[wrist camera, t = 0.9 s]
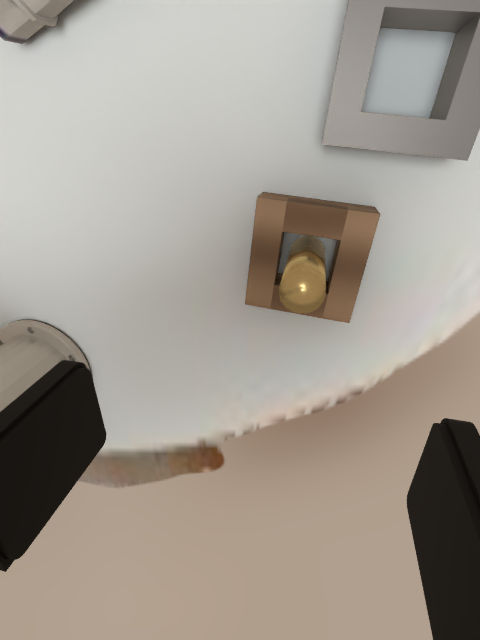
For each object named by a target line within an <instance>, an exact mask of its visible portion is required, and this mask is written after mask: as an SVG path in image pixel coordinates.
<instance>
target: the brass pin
mask: <svg viewBox="0 0 480 640" xmlns="http://www.w3.org/2000/svg"><path fill="white" fill-rule="evenodd" d="M325 295H326V278H325V248H324V245H323V244H322V242H321V241H320V240H319V239H318V238H316V237H313V236H303V237H300V238H298V239H297V240H296V241H295V242H294V243H293V244H292V246H291V249H290V252H289V256H288V259H287V263H286V266H285V269H284V273H283V276H282V280H281V283H280V287H279V297H280V300H281V302H282V303H283V305H284V306H285V307H286V308H287V309H289V310H290V311H293V312H295V313H309V312H312V311H314V310H316V309H317V308H319V307H320V306H321V304H322V303H323V301H324V299H325Z"/></svg>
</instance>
